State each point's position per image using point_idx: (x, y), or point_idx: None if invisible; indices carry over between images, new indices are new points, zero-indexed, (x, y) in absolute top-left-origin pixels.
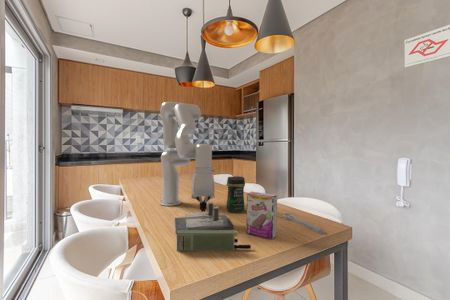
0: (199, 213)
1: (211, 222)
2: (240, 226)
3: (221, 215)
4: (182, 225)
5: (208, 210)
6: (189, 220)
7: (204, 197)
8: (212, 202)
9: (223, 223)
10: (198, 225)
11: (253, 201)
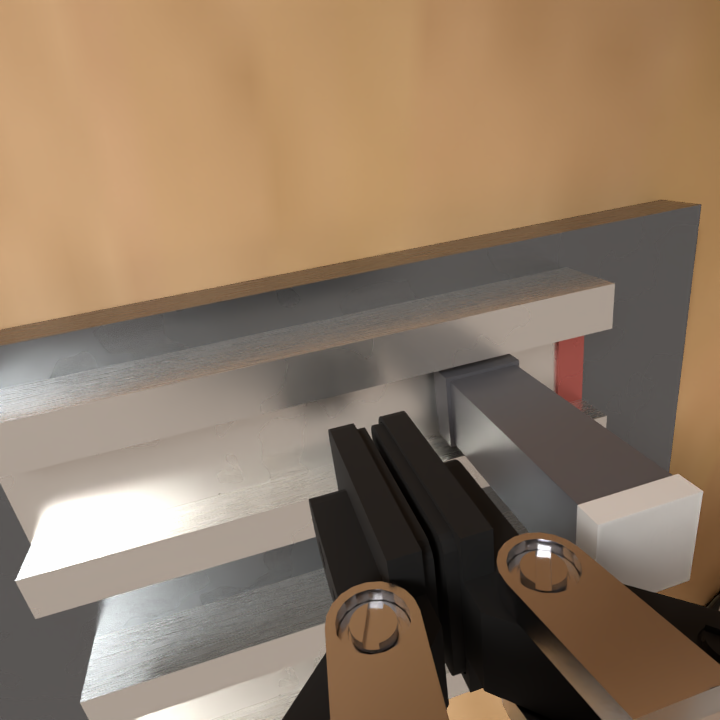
0: (285, 402)
1: (454, 684)
2: (708, 489)
3: (635, 250)
4: (56, 687)
5: (481, 433)
6: (151, 710)
7: (577, 681)
8: (677, 582)
9: None
10: None
11: None
